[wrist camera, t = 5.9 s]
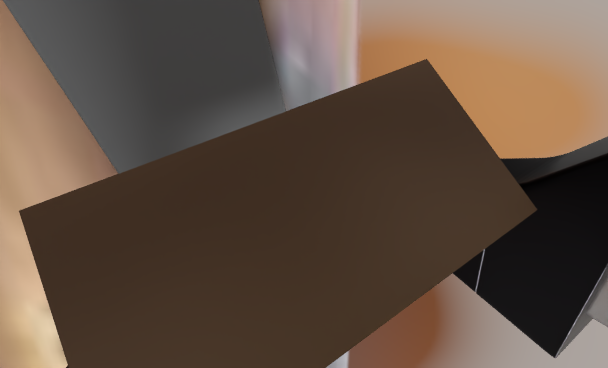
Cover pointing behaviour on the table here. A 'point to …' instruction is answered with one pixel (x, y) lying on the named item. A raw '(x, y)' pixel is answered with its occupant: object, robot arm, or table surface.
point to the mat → (156, 69)
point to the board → (275, 233)
